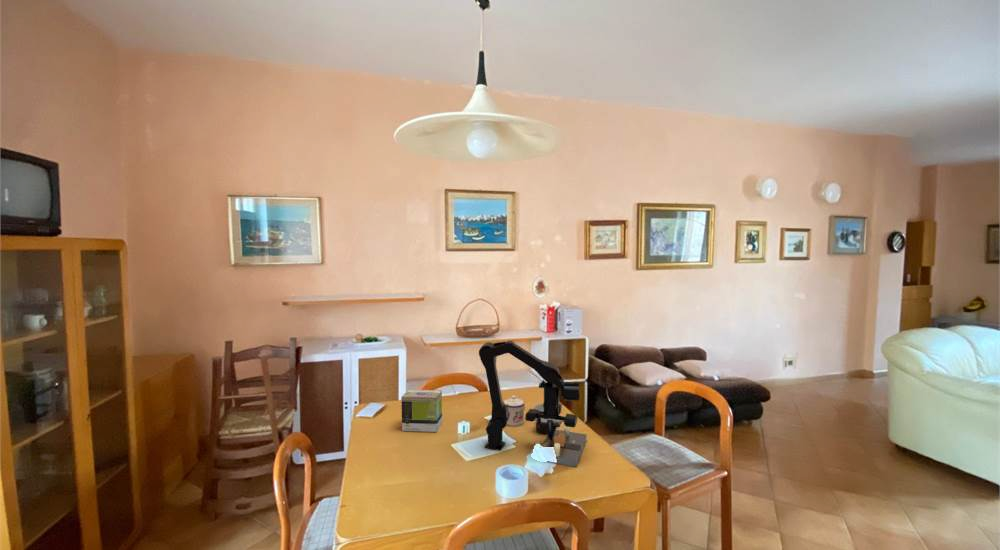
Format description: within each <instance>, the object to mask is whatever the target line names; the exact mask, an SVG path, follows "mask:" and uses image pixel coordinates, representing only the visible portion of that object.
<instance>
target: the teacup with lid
mask: <svg viewBox="0 0 1000 550" xmlns="http://www.w3.org/2000/svg"><path fill="white" fill-rule="evenodd" d="M503 403H504V404H505V405H507V404H508V410H509V412H510V416H509V419H508V421H507V425H506V426H511V427H519V426H521V425H523V424H524V419H525V418H524V413H525V409H526V406H525V402H524V400H522V399H521V398H519V397H517V396H516V395H511V397H509V398H507V399H505V400H504V401H503Z"/></svg>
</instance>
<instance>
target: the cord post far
mask: <svg viewBox="0 0 1000 550" xmlns="http://www.w3.org/2000/svg"><path fill="white" fill-rule="evenodd" d="M563 425H564V424H563ZM563 428H564V429H563V431H564V434H566V437H569V432H570V427H566V426H565V425H564V427H563Z"/></svg>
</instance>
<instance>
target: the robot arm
mask: <svg viewBox="0 0 1000 550" xmlns="http://www.w3.org/2000/svg"><path fill="white" fill-rule="evenodd" d="M505 354H509V355H511V356H513V357H514V358H516V359H517V360H519V361H520V362H522V363H523V364H524V365H526V366H528V367H530V368H531V369H533V370H534V371H535V372H536V373H537V374H538V375H539V376H540V377H541V378H542V379H543V380H542V381H541V382H539V384H538V388H539V389H543V403H542V404H543V407H544V414H542V413H539V410H536V409H534V408H529V409H528V411H526V413H525V418H524V419H525V421H527V422H532V423H533V422H534V421H535V418H539V419H541V423H540V425H543V427H544V429H545V430H546V433H547V435H546V436H548V437H549V440H550V441H552V439H553V436H554V433H555V430H557V428H560V427H561V424H562V423H563V425H565V426H566V427H569V428H576V426H577V423H578V416H577V414H573V413H566V414H565V416H563V415H561V414H562V407H563V404H562V403H560V398H562V400H563V401H575V402H576V401H577V402H579V401H580V387H579V386H580V384H579V382H580V381H565V379H564V378H563V376H562V375H561V374H560V370H559V366H557V365H556V364H554V363H552V362H549V361H547V360H543V359H540V358H538V357H536V356H535V355H534V354H532V353H530V352H529V351H528V350H526V349H524V348H523V347H521V346H520V345H518V344H516V343H515V342H514V341H513V340H507V341H499V342H498V341H497V342H494V343H493V342H490V341H487V342H485V343H483V345H482V346H481V347H480V348H479V350H478V356H479V359H480V361H481V364H482V365H483V367H484V370H485V373H486V379H487V385H488V390H489V395H490V400H491V418H490V419H489V420H488V423H487V425H486V427H485V431H486V433H487V442H486V444H485V445H484V446H483V447H484V448H485V449H491V450H495V451H501V449H503V447H504V446H505V445H506V441H504V440H503V439H504V438H503V430H504V429H505V428H506V426H508V425H507V421H508V419H509V416H510V412H509V410H508V404H507V405H505V404H504V403H503V402H504V401H503V396H502V391H501V386H500V379H499V374H498V368H497V357H499V356H503V355H505ZM551 420H553V423H552V425H551Z"/></svg>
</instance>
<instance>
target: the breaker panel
mask: <svg viewBox="0 0 1000 550" xmlns="http://www.w3.org/2000/svg"><path fill="white" fill-rule="evenodd" d="M556 432H558V433H564V430H560V429H556V430H555V433H554V436H555V434H556ZM554 436H553V439H552V441H550V440H549V437H548V435H546V438H545V439H544V441H543V442H542V444H541V446H543V447H554ZM586 443H587V434H586V433H580V432H573V431H569V437H566V443H565V445H564V447H560V456H559V457H556V459H557V464H556V465H562V466H566V467H567V466H568V467H574V468H577V467H578V464H579V461H580V459H581V456H582V455H583V450H584V449H585V446H586Z"/></svg>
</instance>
